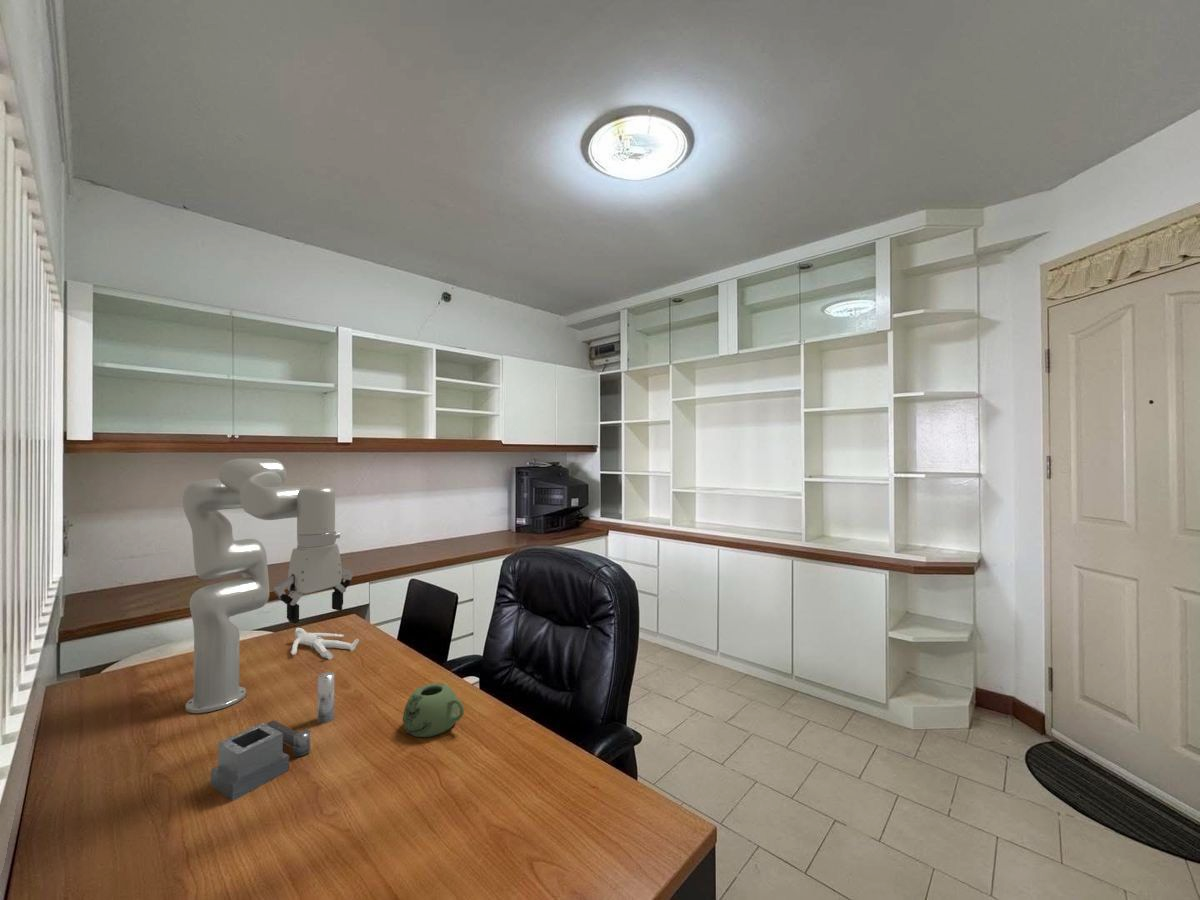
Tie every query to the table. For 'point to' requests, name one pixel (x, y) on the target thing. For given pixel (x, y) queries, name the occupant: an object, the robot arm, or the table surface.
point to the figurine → (320, 642)
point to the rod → (325, 697)
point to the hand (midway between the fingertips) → (316, 615)
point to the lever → (293, 738)
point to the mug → (431, 710)
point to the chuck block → (249, 761)
